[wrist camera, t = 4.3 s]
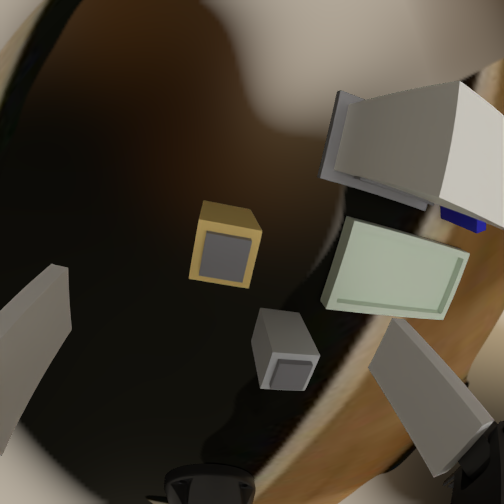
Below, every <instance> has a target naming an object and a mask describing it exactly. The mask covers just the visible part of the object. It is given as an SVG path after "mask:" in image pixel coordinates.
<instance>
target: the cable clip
mask: <svg viewBox="0 0 504 504" xmlns="http://www.w3.org/2000/svg"><path fill="white" fill-rule="evenodd" d="M440 208H441V218H442V219H444V220H447V221H449V222H451V223H454V224H456V225H459V226H461V227H463V228H466V229H468V230H470V231H473V232H475V233H479V232H482V231H484V230H486V223H485V222H483V221H480V220H478V219H475V218H472V217H470V216H467V215H465V214H462V213H459V212H456V211H454V210H451V209H448V208H445V207H443V206H440Z"/></svg>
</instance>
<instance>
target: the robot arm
mask: <svg viewBox="0 0 504 504" xmlns="http://www.w3.org/2000/svg"><path fill="white" fill-rule="evenodd" d="M71 330H72V327H71V316H70V303H69V282H68V268H67V267H62V266H58V265H54V264H51V265H50V266H48V267H47V268H46V269H45V270H44V271H43V272H42V273H40V274H39V275H38V276H37V277H36V278H35V279H34V280H33V281H31V282H30V283H29V284H28V285H27V286H26V287H25V288H24V289H23V290H22V291H20V293H18V294H17V295H16V296H15V297H14V298H13V299H12V300H11V301H10V302H9V303H8V304H7V305H6V306H5V307H4V308H3V309H2V310H1V311H0V455H1V456H2V454H3V452H4V450H5V448H6V446H7V443H8V441H9V439H10V437H11V435H12V433H13V431H14V429H15V427H16V424H17V423H18V421H19V419H20V417H21V415H22V413H23V411H24V409H25V407H26V405H27V403H28V402H29V400H30V398H31V396H32V394H33V392H34V391H35V389H36V387H37V385H38V383H39V382H40V380H41V378H42V376H43V375H44V373H45V371H46V369H47V368H48V366H49V365H50V363H51V361H52V360H53V358H54V356H55V355H56V353H57V352H58V350H59V348H60V347H61V345H62V343H63V342H64V340H65V339H66V337H67V336H68V334H69V332H70V331H71ZM368 368H369V370H370V372H371V373H372V375H373V376H374V378H375V380H376V381H377V383H378V384H379V386H380V388H381V389H382V391H383V392H384V394H385V396H386V397H387V399H388V401H389V402H390V404H391V405H392V407H393V409H394V410H395V412H396V414H397V415H398V417H399V419H400V420H401V422H402V424H403V425H404V427H405V429H406V430H407V432H408V434H409V435H410V437H411V439H412V440H413V442H414V444H415V446H416V447H417V449H418V451H419V452H420V454H421V456H422V458H423V459H424V461H425V463H426V465H427V466H428V468H429V470H430V471H431V473H432V475H433V477H436V476H438V475H441V474H443V473H446V472H448V471H449V470H450V469H451V468H452V467H453V466H454V465H455V464H456V463H457V462H459V464H460V465H461V466H460V467H459V468H458V469H457V470H456V471H455V472H454V473H452V474H451V475H450V476H449V477H448V478H447V479H446V480H445V481H444V483H443V485H444V486H445V485H446V484H447V483H448V482H450V481H451V480H453V479H454V481H453V482H451V483H450V485H449V486H448V487H450V488H453V493H452V499H451V504H504V421H501V422H499V424H497V423H496V422H495V421H494V419H493V418H492V417H491V416H490V414H489V413H488V412H487V411H486V409H485V408H484V407H483V406H482V404H481V403H480V402H479V401H478V400H477V399H476V397H475V396H474V395H473V394H472V393H471V391H470V390H469V389H468V388H467V387H466V386H465V384H464V383H463V382H462V381H461V380H460V379H459V378H458V376H457V375H456V374H455V373H454V372H453V371H452V370H451V369H450V367H449V366H448V365H447V364H446V363H445V362H444V361H443V360H442V359H441V357H440V356H439V355H438V354H437V353H436V352H435V351H434V350H433V349H432V348H431V347H430V345H429V344H428V343H427V342H426V341H425V340H424V339H423V338H422V337H421V336H420V335H419V334H418V333H417V332H416V331H415V329H414V328H413V327H412V326H411V325H410V324H409V323H408V322H407V321H406V320H405V319H395V318H392V320H391V322H390V324H389V326H388V328H387V331H386V333H385V335H384V337H383V339H382V341H381V343H380V345H379V347H378V349H377V351H376V353H375V355H374V357H373V359H372V361H371V363H370V365H369V367H368ZM164 490H165V493H166V496H167V499H168V502H169V504H252V503H253V500H254V495H255V482H254V478H253V476H252V475H251V474H250V473H248V472H247V471H245V470H242V469H240V468H236V467H232V466H227V465H220V464H193V465H186V466H182V467H178V468H175V469H173V470H171V471H170V472H168V473H167V474H166V476H165V483H164Z"/></svg>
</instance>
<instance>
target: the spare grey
mask: <svg viewBox="0 0 504 504" xmlns="http://www.w3.org/2000/svg"><path fill="white" fill-rule="evenodd" d="M251 344H252V349H253V354H254V359H255V364H256V369H257V374H258V379H259V384H260V389H275V390H300V391H305V389H306V387H307V385H308V383H309V380H310V378H311V376H312V374H313V371H314V369H315V367H316V364H317V362H318V360H319V357H320V354H319V352H318V350H317V348H316V346H315V344H314V342H313V340H312V338H311V336H310V334H309V332H308V330H307V328H306V326H305V323H304V321H303V319H302V317H301V315H300V313H297V312H289V311H281V310H274V309H266V308H260V310H259V314H258V318H257V321H256V325H255V328H254V332H253V336H252V339H251Z"/></svg>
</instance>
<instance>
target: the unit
mask: <svg viewBox="0 0 504 504" xmlns="http://www.w3.org/2000/svg"><path fill="white" fill-rule="evenodd" d="M317 177H318V178H322V179H325V180H329V181H332V182H336V183H339V184H343V185H346V186H350V187H353V188H357V189H360V190H363V191H366V192H370V193H373V194H376V195H379V196H382V197H385V198H388V199H391V200H394V201H397V202H400V203H403V204H406V205H409V206H412V207H415V208H418V209H420V210H423V211H425V210H426V206H427V204H430V205H432V206H434V204H437V205H440V206H443V207H445V208H448V209H451V210H454V211H456V212H459V213H462V214H465V215H467V216H470V217H472V218H475V219H478V220H480V221H483V222H485V223H488V224H490V225H493V226H495V227H497V228H500V229H502V230H504V115H502V114H501V113H500V112H499V111H498V110H497V109H495V108H494V107H493V106H492V105H491V104H489V103H488V102H487V101H486V100H484V99H483V98H482V97H481V96H479V95H478V94H477V93H476V92H474V91H473V90H472V89H470V88H469V87H468V86H466V85H465V84H463V83H462V82H461V81H455V82H449V83H443V84H437V85H431V86H426V87H421V88H416V89H411V90H406V91H401V92H397V93H392V94H388V95H384V96H380V97H376V98H371V99H367V100H365V99H362V98H360V97H357V96H355V95H352V94H349V93H347V92H344V91H341V90H340V91H338V92H337V95H336V99H335V104H334V108H333V113H332V118H331V122H330V126H329V130H328V135H327V139H326V143H325V147H324V151H323V155H322V160H321V164H320V168H319V172H318V176H317Z"/></svg>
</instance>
